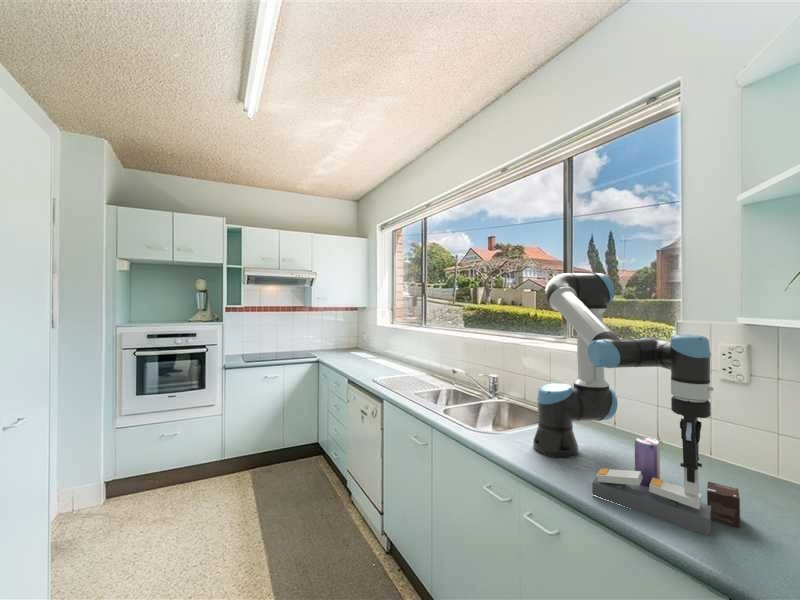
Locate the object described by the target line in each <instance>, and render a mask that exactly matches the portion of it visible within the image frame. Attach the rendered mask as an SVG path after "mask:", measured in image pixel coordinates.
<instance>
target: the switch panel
mask: <svg viewBox="0 0 800 600" xmlns="http://www.w3.org/2000/svg"><path fill="white" fill-rule="evenodd" d="M591 488H592V489H591V491H592V493H591V494H593V495H596V496H598V497H601V498H603V499H606V500H609V501H612V502H614V503H617V504H620V505H622V506H621V507H623V506H625V507H628V508H631V509H633V510H632V511H634V510H636V511H635V512H637V511H638V513H640V512H641V514H643V513H644V514H643V515H647V516H650V517H652V518H655V519H659V520H662V521H664V522H667V523H670V524H673V525H676V526H679V527H682V528H685V529H687V530H690V529H691V530H690V531H693V530H694V532H696V531H697V532H696V533H699V534H702V535H705V536H709V537H710V536H711V527H712V520H711V506H709V505H707V503H704V502H703V503H702V502H701V503H700V508H699V509H696V508H693V507H691V506H688V505H685V504H682V503H680V502H677V501H674V500H671V499H669V498H666V497H663V496H660V495H658V494H655V493H652V492H649V488H648V487H645V486H642V485H629V484H617V483H606V482H598V478H597V476H595V478H594V479H593V481H592V486H591ZM614 503H613V504H614ZM617 504H616V505H617ZM620 505H619V506H620ZM625 507H624V508H625ZM628 508H627V509H628ZM631 509H630V510H631Z"/></svg>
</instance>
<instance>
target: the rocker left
mask: <svg viewBox="0 0 800 600" xmlns="http://www.w3.org/2000/svg"><path fill="white" fill-rule="evenodd" d="M596 477H597V478H598V482H606V483H617V484H629V485H640V483H641V481H642V479H643V477H642V473H641V471H635V470H629V469H627V470H625V469H623V470H622V469H612V468H601V469H600V470H599V471H598V472H597V474H596Z"/></svg>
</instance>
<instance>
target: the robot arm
mask: <svg viewBox="0 0 800 600" xmlns="http://www.w3.org/2000/svg"><path fill="white" fill-rule="evenodd" d="M615 294H616V293H615V286H614V283H613V282H612V280H611V278H610V277H609V276H608V275H607V274H604V273H600V272H599V273H598V272H587V273H586V272H579V273H578V272H577V273H573V272H572V273H569V272H566V273H560V274H558V275H556V276H554V277H552V278H551V279H550V280H549V281H548V283H547V284H546V287H545V290H544V296H545V301H546V302H547V304H548V305H549V306H550V307H551V308H552V310H554V311H557V312H559V313H560V315H562V317H563V318H564V320H566V321H567V322H568V324H569V325H570V326H571V327H572V328H573V329H574V331H575V332H576V347H577V348H576V349H577V351H576V352H577V378H576V379H575V380H574V381H573V387H572V386H571V385H570V384H568V383H559V382H558V383H557V382H556V383H555V382H554V383H547V384H544V385H541V387H539V389H538V390H537V418H538V419H537V421H538V422H537V425H538V426H537V429H536V432H535V435H534V438H533V448H535V449H536V450H537V451H536V450H535V449H534V450H535V451H536V452H538V453H540V454H542V455H544V454H545V456H547V455H548V457H551V458H558V459H560V458H561V459H570V458H574V457H577V456H578V454H579V445H578V442H577V439H576V436H575V434H574V427H573V426H574V425H573V423H574V422H581V421H582V422H588V421H596V422H599V421H606V420H610V419H612V418H613V417H614V416H615V414H616V412H617V411H618V410H617V409H618V405H619V404H618V397H617V396H616V392H615V391H614V390H613V389H612V388H611V387H610V384H609V382H608V381H606V380H605V368H606V369H615V368H616V369H617V368H618V369H619V368H650V367H651V368H652V367H656V368H657V367H658V368H663V369H667V370H670V373H671V375H670V394H671V395H672V397H671V398H670V401H671V405H670V406H671V411H672V412H673V413H675V414H677V415H680V416H682V417H683V418H680V421H679V428H680V433H681V434H680V435H681V436H680V437H681V440H682V441H681V442H682V460H683V461H682V462H680V464H679V467H682V468H683V485H684V486H683V488H684V492H685V493H688V494H692V495H695V496H699V493H700V490H699V489H700V483H699V479H700V478H699V469H700V468H703V464H702V463H701V462H700V463H699V461H700V457H699V451H700V450H699V447H700V445H699V443H700V440H701V430H702V428H703V427H702V424H703V423H702V421H700V420H698V419H699V418H700V419H708V418H710V417H711V415H712V413H711V408H712V407H711V402H710V399H711V392H714V391H715V389H714V387H713V386H711V356H712V353H711V349H710V340H709V338H707V337H706V336H704V335H697V334H695V335H694V334H673V335H672V336H671V337H670V340H667V339H662V338H658V337H641V338H639V339H635V338H634V339H631V338H629V339H621V338H619V336H617V335H616V333H614V331H612V330H611V328H610V327H608V326H607V324H605V323H604V319H603V318H604V317H603V314H604V313H605V312H606V311H607V310H608V305H609V304H610V303H613V301H614V298H615Z"/></svg>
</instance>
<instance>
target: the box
mask: <svg viewBox="0 0 800 600" xmlns="http://www.w3.org/2000/svg"><path fill="white" fill-rule="evenodd" d="M706 487H707V489H706V490H707V491H706V500H707V503H706V505H709V506H711V521H715V522H718V523H720V524H721V523H722V524H725V525H728V526H732V527H735V528H738V529H740V528H741V497H740V493H739V488H737V487H736V488H735V487H732V486H729V485H724V484H720V483H716V482H712V481H707V486H706Z"/></svg>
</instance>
